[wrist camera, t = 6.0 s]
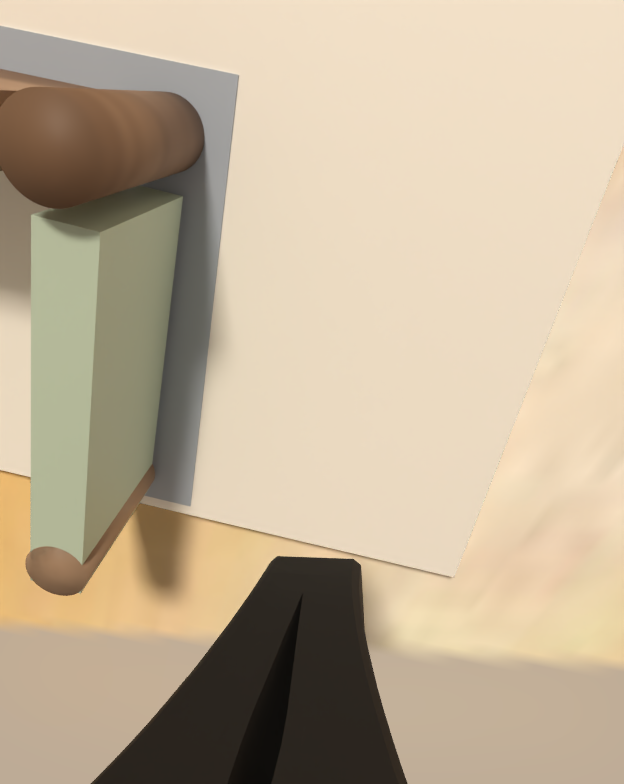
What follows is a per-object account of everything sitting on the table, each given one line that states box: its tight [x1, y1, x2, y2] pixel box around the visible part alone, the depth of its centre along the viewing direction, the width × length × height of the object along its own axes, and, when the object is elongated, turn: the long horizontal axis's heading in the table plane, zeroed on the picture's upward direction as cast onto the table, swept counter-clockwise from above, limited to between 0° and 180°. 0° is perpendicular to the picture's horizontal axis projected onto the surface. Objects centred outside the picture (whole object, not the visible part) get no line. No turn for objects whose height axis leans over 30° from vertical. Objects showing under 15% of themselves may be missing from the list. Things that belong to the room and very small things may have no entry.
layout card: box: [0, 0, 624, 577], centre depth 12 cm, size 16×17×1 cm
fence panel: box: [26, 185, 183, 596], centre depth 11 cm, size 7×1×4 cm, turn 168°
